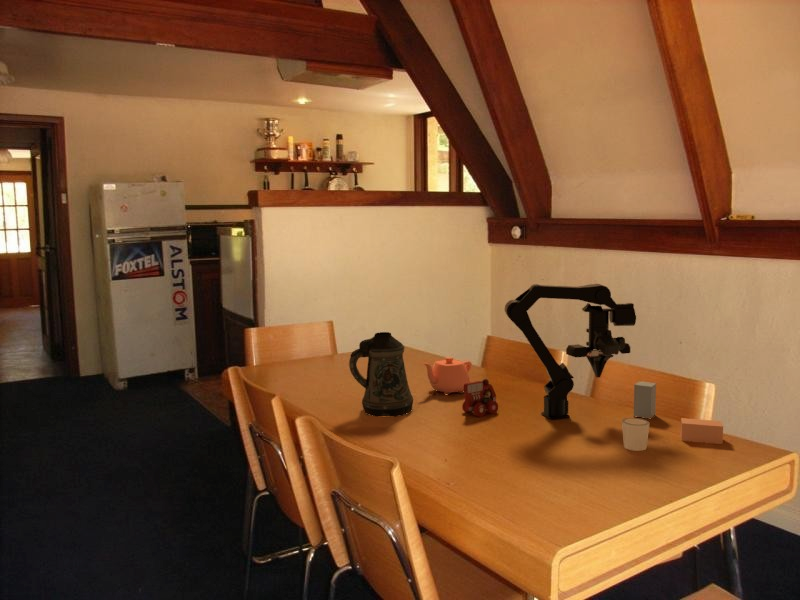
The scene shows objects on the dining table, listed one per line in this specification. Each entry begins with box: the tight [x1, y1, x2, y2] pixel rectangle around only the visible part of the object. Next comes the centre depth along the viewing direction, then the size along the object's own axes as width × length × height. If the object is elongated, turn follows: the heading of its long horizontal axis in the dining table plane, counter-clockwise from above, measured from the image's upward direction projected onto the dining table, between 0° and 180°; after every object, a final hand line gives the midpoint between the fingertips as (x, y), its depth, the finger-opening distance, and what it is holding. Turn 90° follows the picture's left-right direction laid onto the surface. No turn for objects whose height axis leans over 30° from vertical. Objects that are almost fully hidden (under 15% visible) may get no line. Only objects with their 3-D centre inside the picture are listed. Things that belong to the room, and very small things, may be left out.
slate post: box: [633, 380, 657, 419], centre depth 205 cm, size 5×5×10 cm
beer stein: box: [348, 331, 414, 417], centre depth 216 cm, size 16×19×25 cm
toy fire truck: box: [461, 378, 499, 418], centre depth 212 cm, size 7×12×10 cm, turn 124°
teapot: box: [422, 356, 472, 395], centre depth 239 cm, size 13×20×12 cm, turn 118°
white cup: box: [621, 417, 650, 452], centre depth 178 cm, size 7×7×7 cm
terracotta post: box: [680, 417, 724, 445], centre depth 183 cm, size 5×5×10 cm
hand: (598, 377), depth 205 cm, fingers closed
